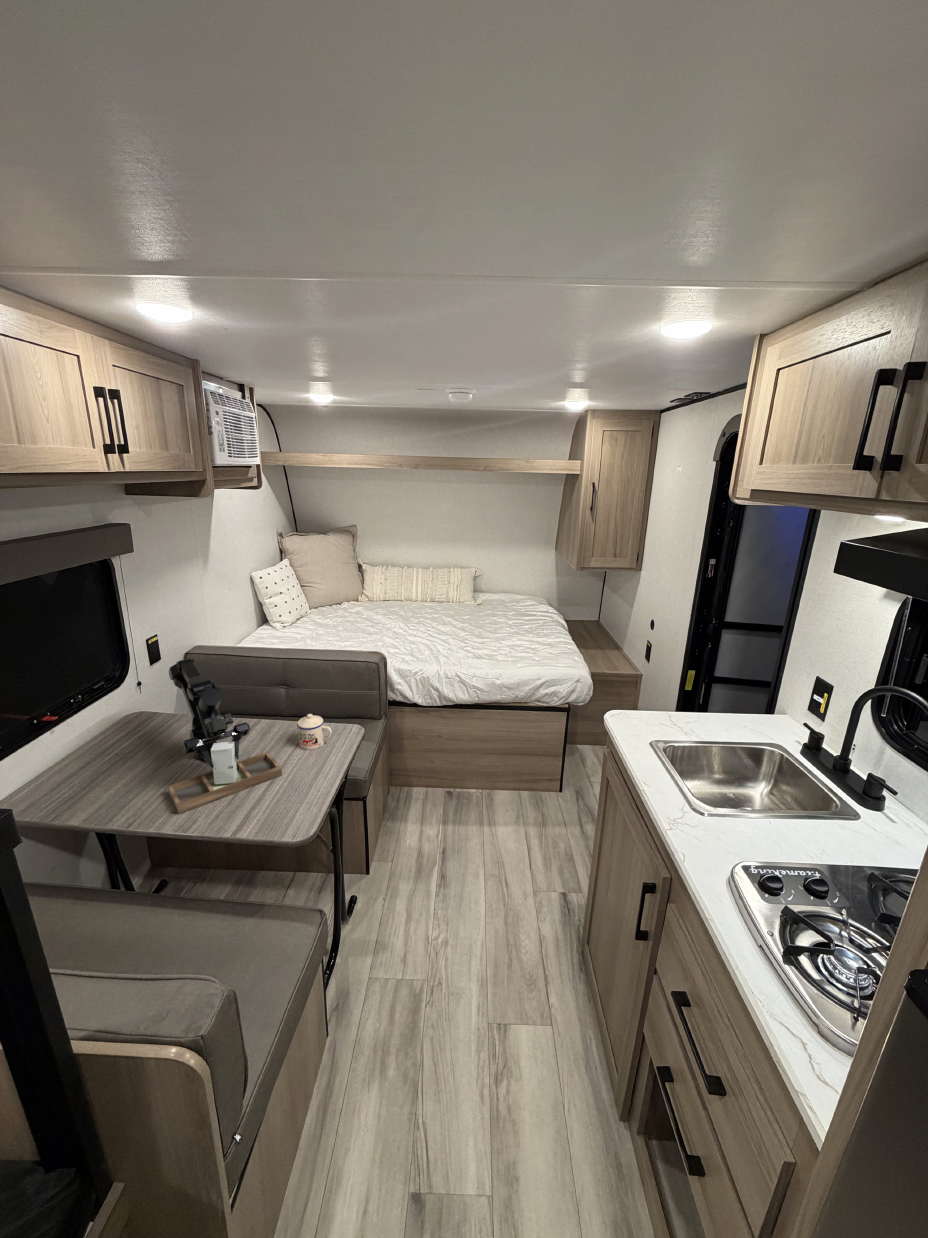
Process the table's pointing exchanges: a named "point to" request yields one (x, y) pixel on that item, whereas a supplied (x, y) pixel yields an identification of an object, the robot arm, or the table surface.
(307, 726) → the teacup with lid
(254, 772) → the three bay box
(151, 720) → the table surface
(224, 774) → the skincare box
